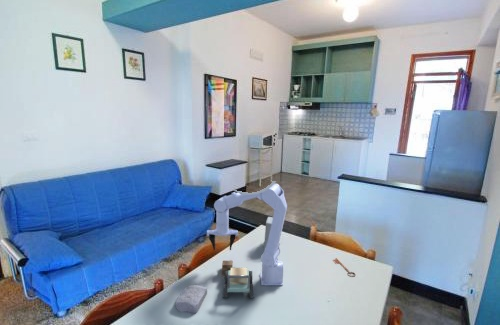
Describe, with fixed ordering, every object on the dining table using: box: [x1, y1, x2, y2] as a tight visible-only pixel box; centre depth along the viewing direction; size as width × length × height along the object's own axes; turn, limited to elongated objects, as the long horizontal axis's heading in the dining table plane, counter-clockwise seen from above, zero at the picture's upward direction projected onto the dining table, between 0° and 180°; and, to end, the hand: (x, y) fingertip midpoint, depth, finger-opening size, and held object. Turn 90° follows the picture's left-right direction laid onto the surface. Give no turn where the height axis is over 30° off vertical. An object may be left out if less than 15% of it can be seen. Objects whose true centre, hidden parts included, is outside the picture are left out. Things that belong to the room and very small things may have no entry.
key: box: [332, 258, 356, 278], centre depth 127 cm, size 6×1×15 cm
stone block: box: [175, 284, 208, 314], centre depth 102 cm, size 12×5×10 cm
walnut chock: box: [221, 260, 234, 278], centre depth 121 cm, size 4×7×6 cm, turn 2°
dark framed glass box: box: [222, 267, 254, 299], centre depth 109 cm, size 12×14×10 cm
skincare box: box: [263, 216, 273, 249], centre depth 145 cm, size 8×7×16 cm
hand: (222, 249), depth 124 cm, fingers open, 7 cm apart
